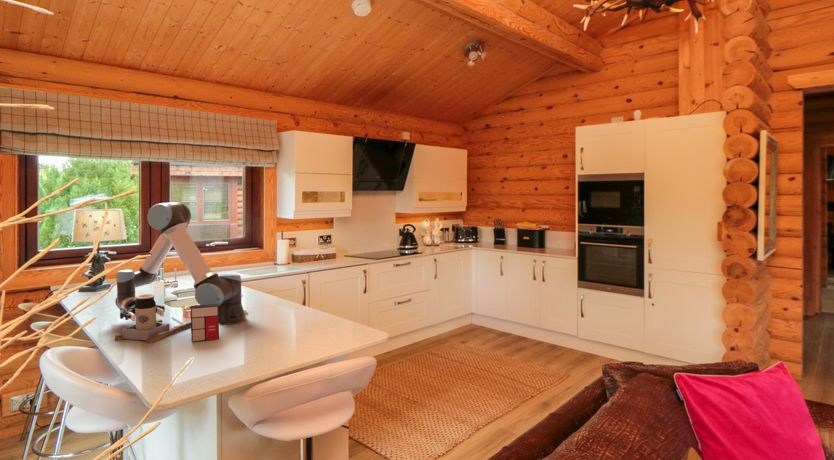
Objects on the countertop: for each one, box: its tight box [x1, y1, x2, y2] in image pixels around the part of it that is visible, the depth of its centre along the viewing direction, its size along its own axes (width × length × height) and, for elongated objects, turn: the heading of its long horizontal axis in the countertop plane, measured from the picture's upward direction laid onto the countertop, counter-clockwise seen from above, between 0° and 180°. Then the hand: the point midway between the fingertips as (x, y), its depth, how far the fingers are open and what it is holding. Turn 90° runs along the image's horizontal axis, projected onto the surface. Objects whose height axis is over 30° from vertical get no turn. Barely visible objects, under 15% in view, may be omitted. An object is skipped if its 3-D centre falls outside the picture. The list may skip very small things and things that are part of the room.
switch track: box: [114, 319, 191, 344], centre depth 223 cm, size 18×26×2 cm
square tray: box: [121, 322, 171, 341], centre depth 218 cm, size 13×13×4 cm
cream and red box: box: [190, 304, 220, 343], centre depth 214 cm, size 11×4×15 cm, turn 114°
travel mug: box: [135, 293, 157, 331], centre depth 217 cm, size 8×8×18 cm
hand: (148, 315), depth 215 cm, fingers open, 11 cm apart
